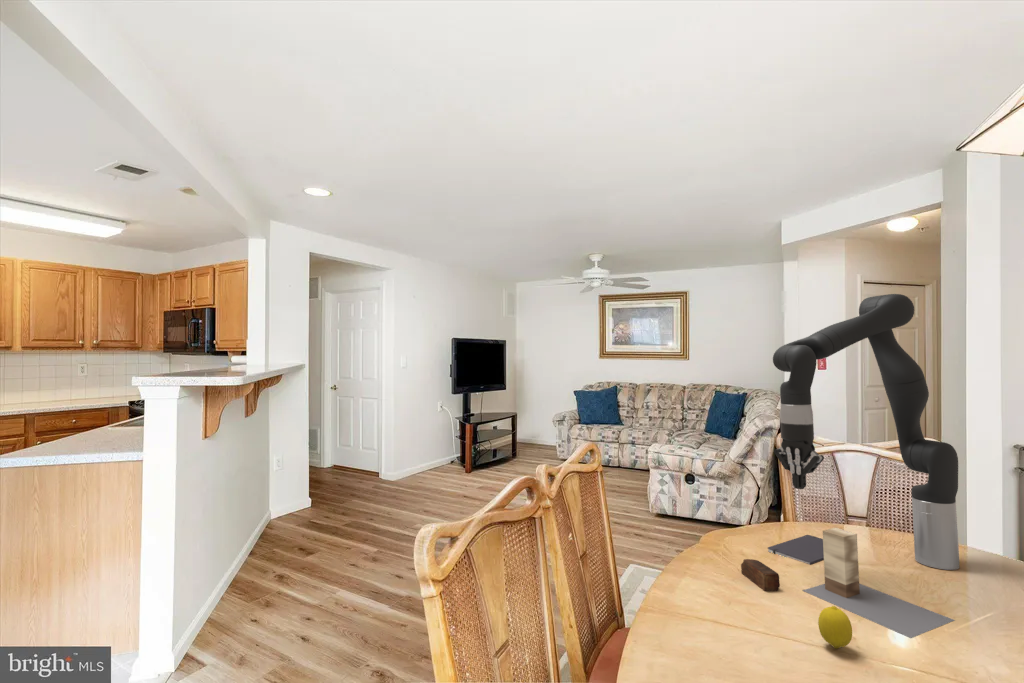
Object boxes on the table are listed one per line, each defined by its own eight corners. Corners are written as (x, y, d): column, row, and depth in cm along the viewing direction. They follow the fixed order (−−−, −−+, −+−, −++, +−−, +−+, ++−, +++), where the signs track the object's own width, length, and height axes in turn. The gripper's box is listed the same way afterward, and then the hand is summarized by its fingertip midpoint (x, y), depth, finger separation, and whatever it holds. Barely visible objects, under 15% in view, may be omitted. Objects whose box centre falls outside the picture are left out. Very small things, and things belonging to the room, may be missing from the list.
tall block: (838, 585, 122) (835, 527, 122) (859, 593, 117) (856, 533, 118) (825, 589, 120) (822, 530, 120) (846, 598, 115) (843, 537, 116)
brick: (780, 593, 119) (779, 573, 119) (765, 594, 119) (764, 574, 119) (755, 574, 130) (754, 556, 130) (740, 575, 129) (740, 557, 130)
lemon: (812, 641, 98) (810, 600, 99) (838, 639, 99) (837, 598, 99) (833, 657, 93) (831, 614, 93) (860, 655, 93) (858, 612, 94)
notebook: (810, 568, 134) (852, 552, 144) (810, 562, 134) (851, 547, 144) (766, 553, 145) (808, 539, 155) (766, 547, 145) (807, 534, 156)
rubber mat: (844, 579, 126) (844, 577, 126) (955, 621, 105) (955, 620, 105) (802, 592, 119) (802, 590, 119) (910, 640, 98) (910, 638, 98)
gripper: (831, 423, 125) (834, 492, 124) (783, 418, 137) (786, 481, 136) (811, 425, 122) (814, 496, 121) (764, 419, 134) (766, 484, 133)
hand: (799, 488), depth 128 cm, fingers closed
